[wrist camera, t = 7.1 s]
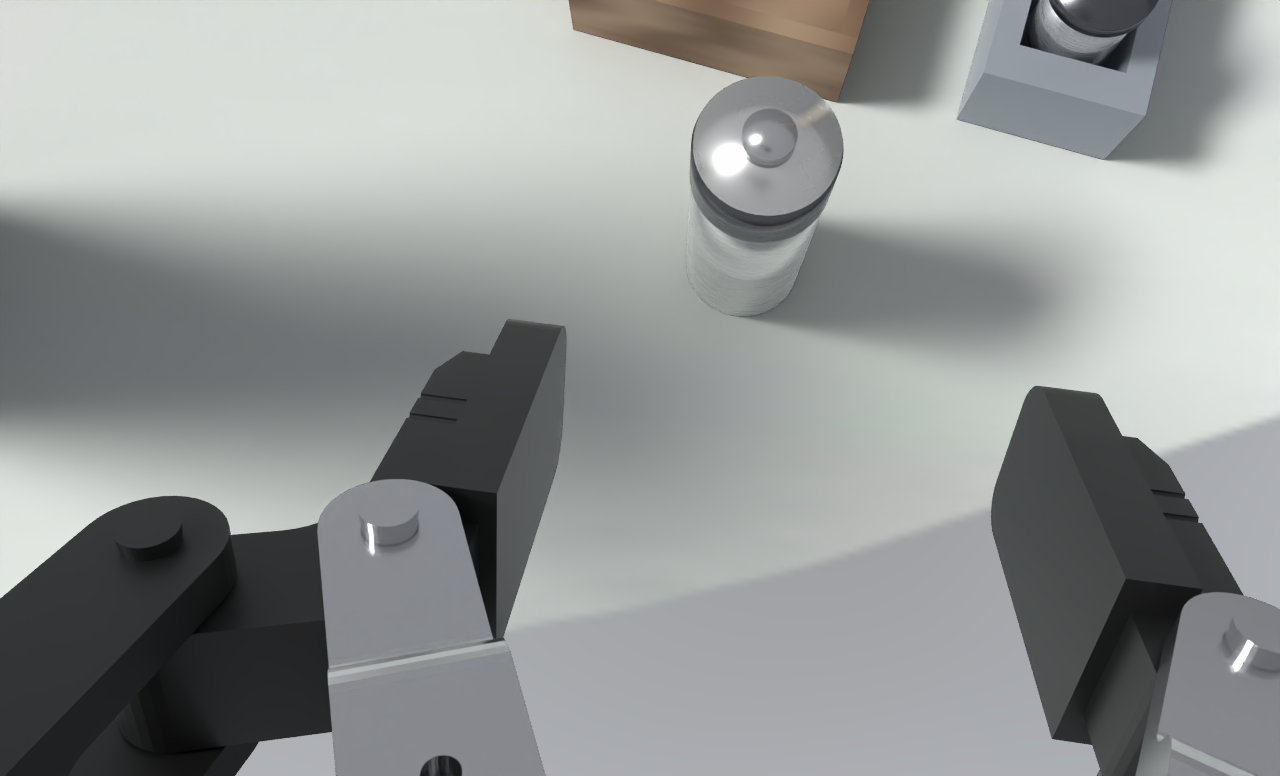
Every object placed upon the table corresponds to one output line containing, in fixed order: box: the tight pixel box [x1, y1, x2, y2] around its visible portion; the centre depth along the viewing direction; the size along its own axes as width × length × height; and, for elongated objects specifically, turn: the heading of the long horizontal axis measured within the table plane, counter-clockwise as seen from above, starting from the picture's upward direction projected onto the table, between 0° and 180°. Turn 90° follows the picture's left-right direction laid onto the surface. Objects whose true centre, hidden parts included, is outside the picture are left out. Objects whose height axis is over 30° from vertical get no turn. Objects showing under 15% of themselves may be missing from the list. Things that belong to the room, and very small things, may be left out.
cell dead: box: [686, 76, 843, 316], centre depth 34 cm, size 4×4×11 cm
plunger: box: [1020, 0, 1159, 66], centre depth 38 cm, size 4×4×5 cm
